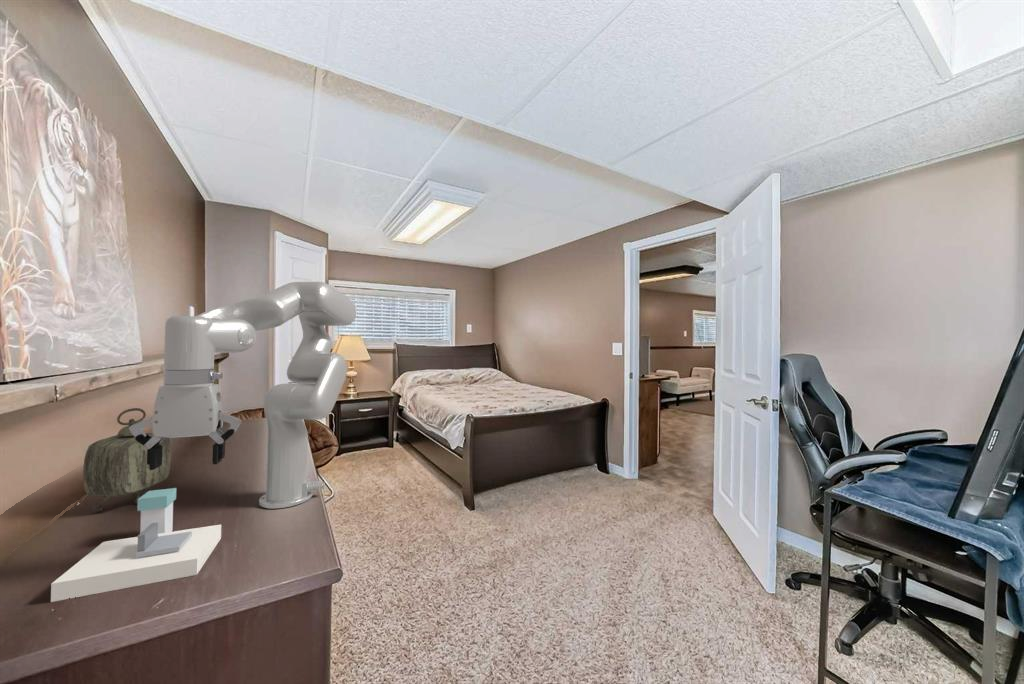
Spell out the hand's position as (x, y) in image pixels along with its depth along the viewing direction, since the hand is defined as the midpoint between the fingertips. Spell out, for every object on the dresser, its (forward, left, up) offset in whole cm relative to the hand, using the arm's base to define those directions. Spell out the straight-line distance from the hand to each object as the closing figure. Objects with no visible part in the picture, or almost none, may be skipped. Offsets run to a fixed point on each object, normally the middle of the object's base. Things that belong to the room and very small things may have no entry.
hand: (187, 465), depth 73 cm
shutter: (+3, 0, -15) cm, 16 cm away
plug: (+9, -13, -19) cm, 24 cm away
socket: (+5, 0, -18) cm, 19 cm away
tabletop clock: (+23, -37, -19) cm, 47 cm away
